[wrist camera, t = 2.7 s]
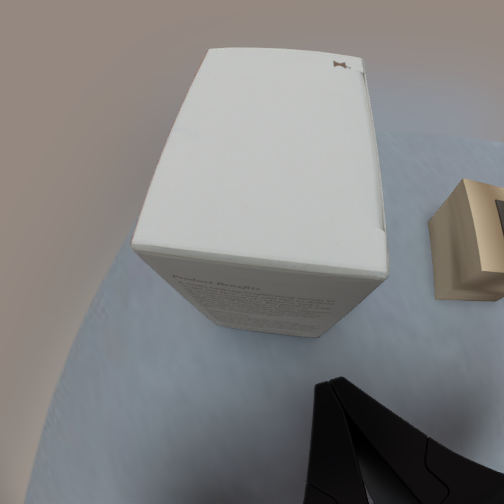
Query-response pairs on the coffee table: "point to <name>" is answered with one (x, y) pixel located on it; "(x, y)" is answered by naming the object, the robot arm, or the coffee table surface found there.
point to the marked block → (469, 243)
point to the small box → (269, 192)
